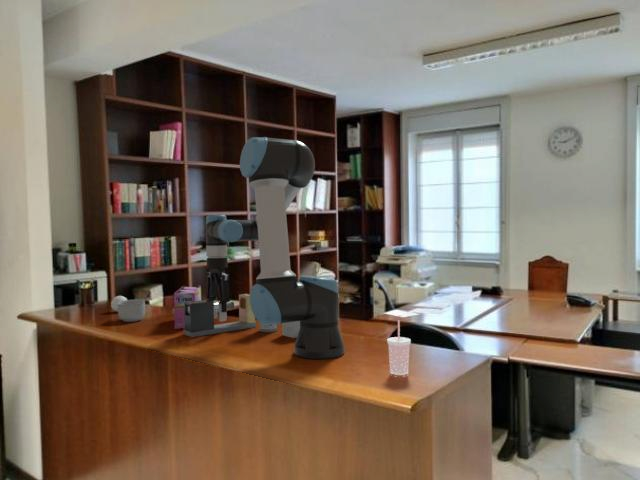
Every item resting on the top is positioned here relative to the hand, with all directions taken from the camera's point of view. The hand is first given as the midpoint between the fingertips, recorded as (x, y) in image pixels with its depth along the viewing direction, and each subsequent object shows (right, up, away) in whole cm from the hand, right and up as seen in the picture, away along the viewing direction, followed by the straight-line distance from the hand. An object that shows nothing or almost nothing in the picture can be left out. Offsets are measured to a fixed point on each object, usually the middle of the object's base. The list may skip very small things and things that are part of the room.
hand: (218, 319), depth 189 cm
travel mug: (+19, -4, -1) cm, 19 cm away
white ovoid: (-53, -4, +42) cm, 68 cm away
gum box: (-15, -4, +16) cm, 23 cm away
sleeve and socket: (+1, -3, +1) cm, 3 cm away
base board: (+1, -4, +1) cm, 4 cm away
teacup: (-41, -4, +24) cm, 47 cm away
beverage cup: (+58, -6, -56) cm, 81 cm away
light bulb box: (+30, -4, -7) cm, 31 cm away
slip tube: (-2, +3, -2) cm, 4 cm away
